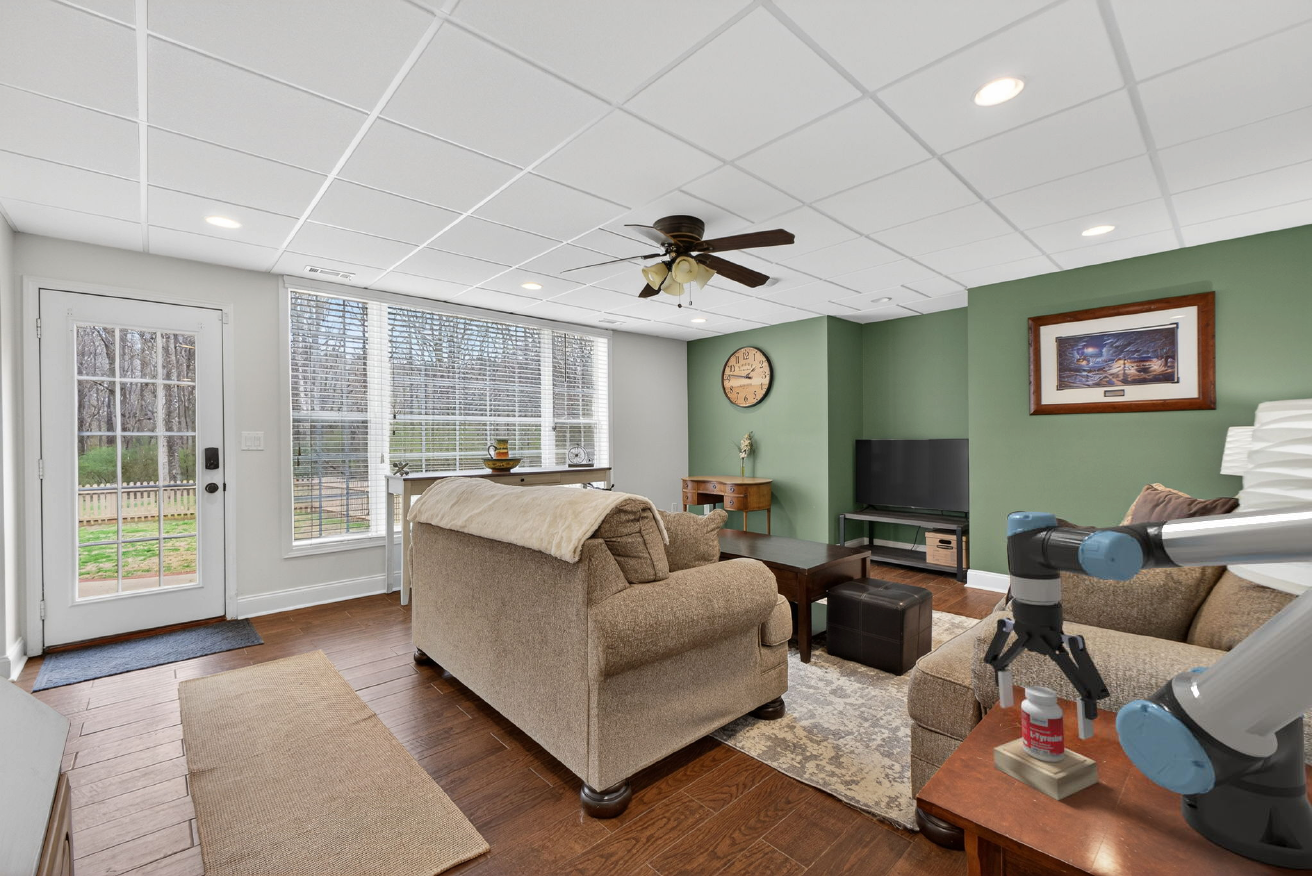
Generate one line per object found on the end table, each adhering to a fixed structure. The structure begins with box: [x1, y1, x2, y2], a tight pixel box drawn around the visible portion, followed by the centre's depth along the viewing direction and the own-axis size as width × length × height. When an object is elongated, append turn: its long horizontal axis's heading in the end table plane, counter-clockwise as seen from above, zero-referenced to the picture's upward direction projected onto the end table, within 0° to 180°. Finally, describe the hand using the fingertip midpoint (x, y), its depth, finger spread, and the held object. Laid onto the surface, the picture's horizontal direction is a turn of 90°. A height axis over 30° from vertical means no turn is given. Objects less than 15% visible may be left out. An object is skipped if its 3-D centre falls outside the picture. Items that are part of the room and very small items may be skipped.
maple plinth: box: [993, 737, 1098, 801], centre depth 101 cm, size 11×11×4 cm
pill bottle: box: [1020, 685, 1065, 762], centre depth 101 cm, size 6×6×11 cm
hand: (1044, 720), depth 101 cm, fingers open, 13 cm apart
